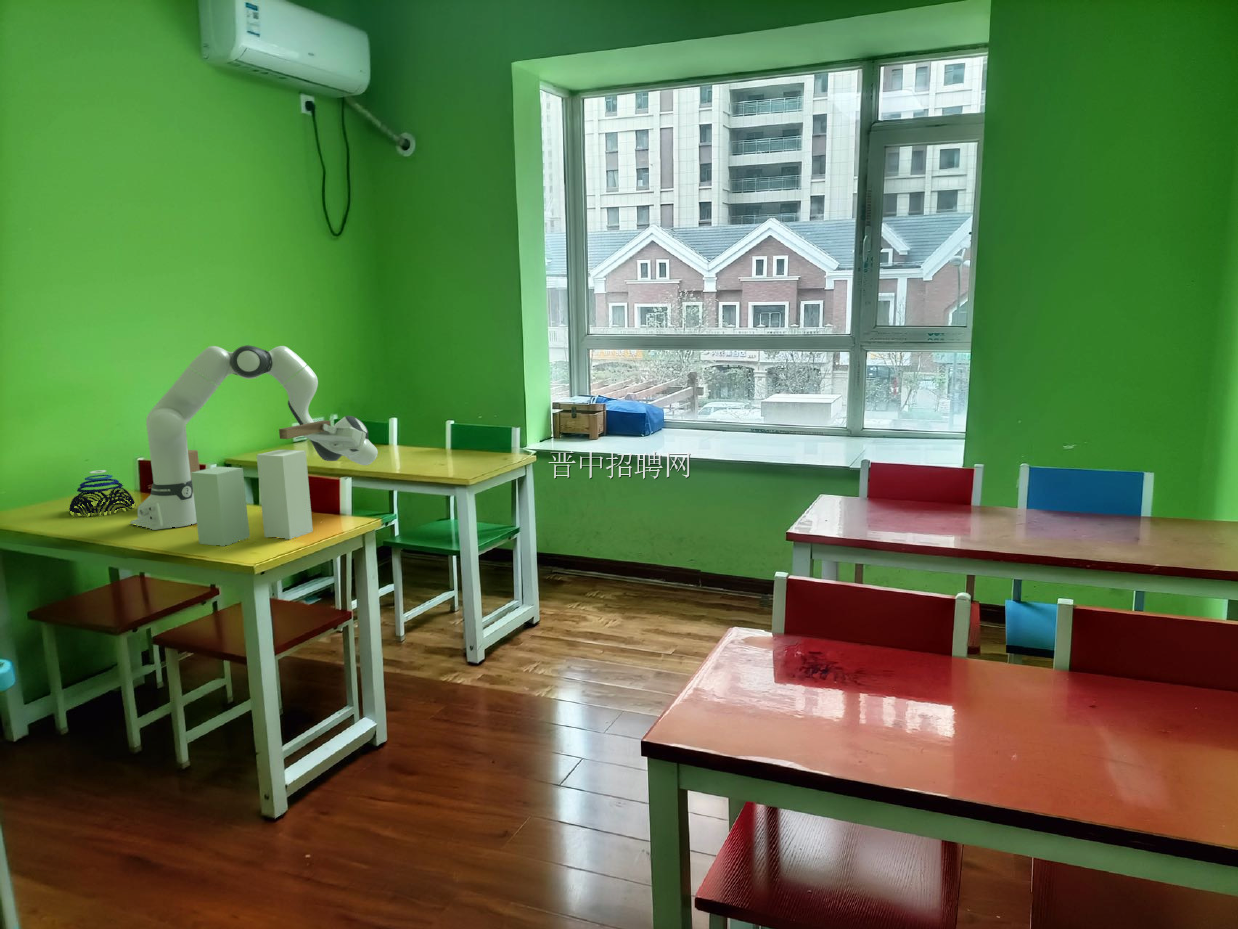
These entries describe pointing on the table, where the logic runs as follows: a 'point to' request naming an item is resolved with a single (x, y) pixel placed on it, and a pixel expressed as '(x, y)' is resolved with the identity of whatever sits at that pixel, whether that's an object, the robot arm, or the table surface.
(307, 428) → the walnut bar
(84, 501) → the decorative bowl
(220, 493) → the sage post
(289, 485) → the grey post
